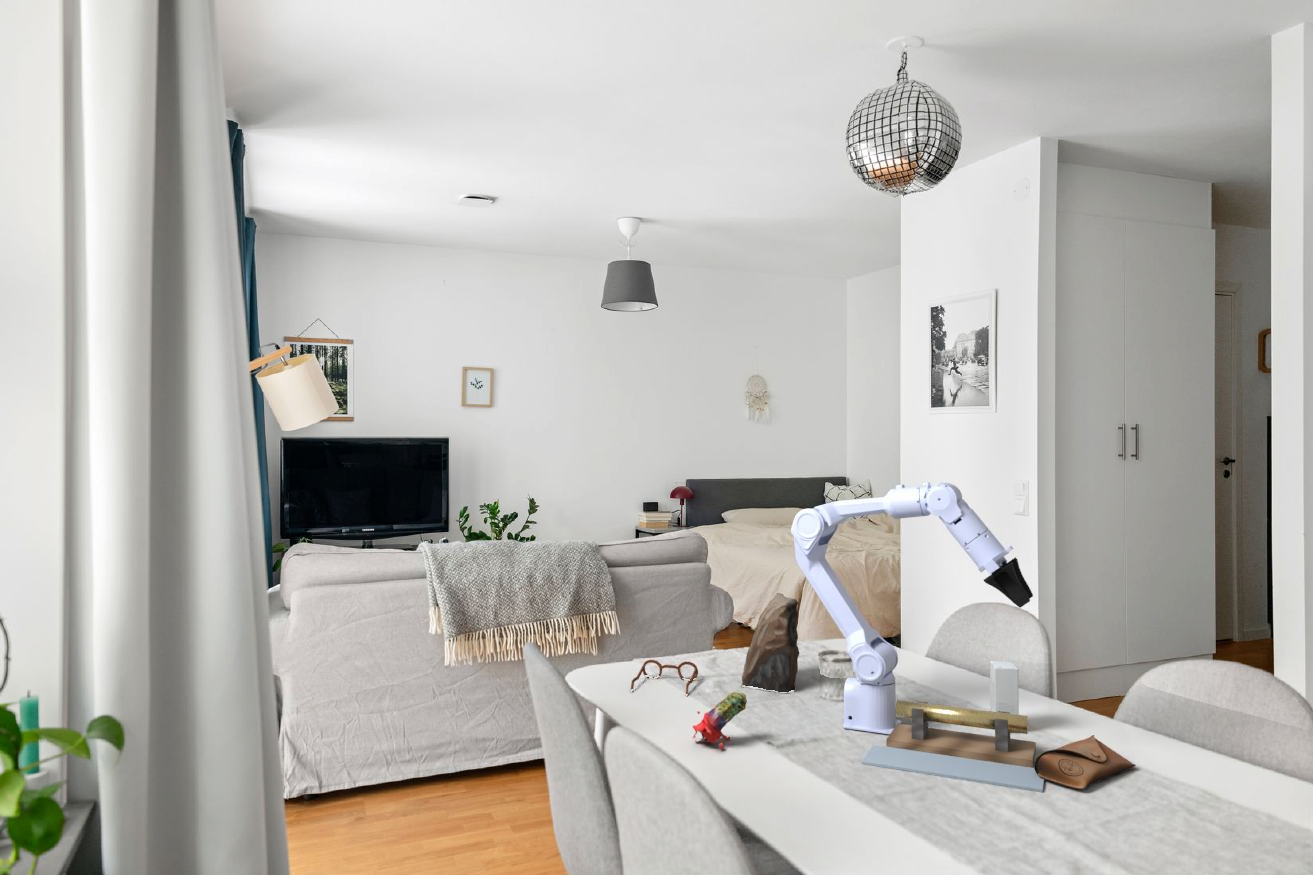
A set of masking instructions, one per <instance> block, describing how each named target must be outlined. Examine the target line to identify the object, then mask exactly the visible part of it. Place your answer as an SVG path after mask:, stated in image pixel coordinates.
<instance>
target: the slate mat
mask: <svg viewBox="0 0 1313 875" xmlns="http://www.w3.org/2000/svg"><path fill="white" fill-rule="evenodd" d="M861 764H862V765H867V766H874V767H881V768H886V769H893V770H899V771H905V772H912V773H919V774H924V775H933V776H937V777H944V778H949V779H955V780H956V779H958V780H963V781H970V782H976V783H982V784H988V785H994V786H995V785H996V786H1001V787H1008V788H1013V789H1021V790H1026V791H1033V792H1038V793H1039V792H1040V793H1043V791H1044V785H1045V784H1044V783H1045V779H1044V778H1041V777H1039V776H1038V775H1037V773H1036V771H1035V770H1034V767H1033V768H1032V767H1025V766H1018V765H1012V764H1005V763H998V762H991V761H984V760H977V759H971V758H964V757H957V756H950V755H943V754H936V753H929V752H923V751H916V750H909V749H902V748H895V747H888V746H883V745H876V744H872V746H871V747H870V748H869V750H868V752H867V753H866V754H865V756H864V757H863V759H862V760H861Z"/></svg>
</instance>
